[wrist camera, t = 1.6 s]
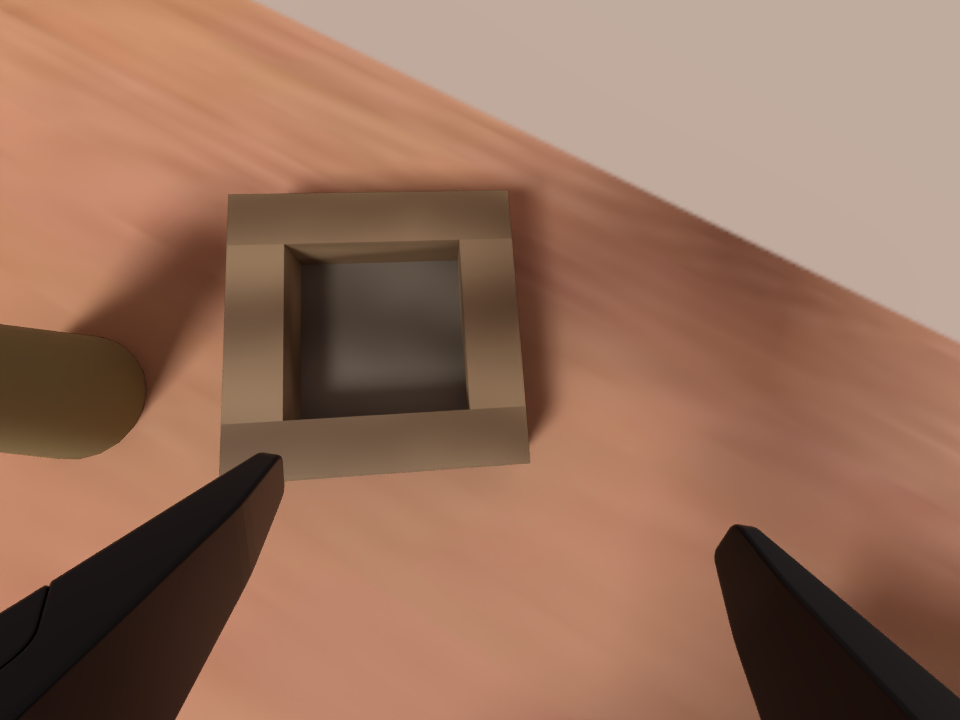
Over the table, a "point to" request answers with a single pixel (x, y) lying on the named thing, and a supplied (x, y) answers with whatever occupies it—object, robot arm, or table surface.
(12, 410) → the olive mushroom shape
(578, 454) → the table surface
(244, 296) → the walnut pocket block
